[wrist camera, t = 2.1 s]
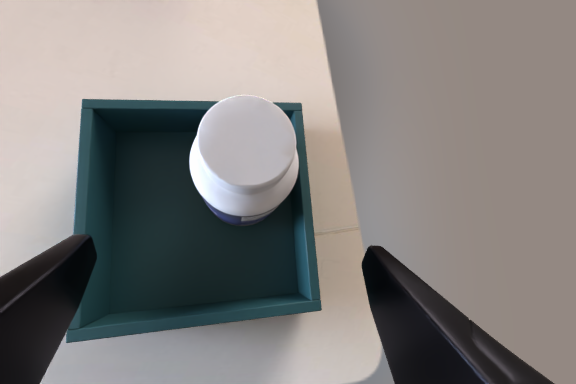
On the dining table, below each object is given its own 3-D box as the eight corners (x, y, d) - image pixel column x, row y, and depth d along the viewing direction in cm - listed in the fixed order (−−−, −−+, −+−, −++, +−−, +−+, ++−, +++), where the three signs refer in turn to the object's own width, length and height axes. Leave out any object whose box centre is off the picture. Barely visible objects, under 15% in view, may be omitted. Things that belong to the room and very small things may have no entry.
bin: (305, 299, 20) (321, 310, 16) (102, 323, 18) (65, 343, 14) (290, 127, 23) (301, 102, 19) (110, 127, 20) (81, 98, 17)
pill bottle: (191, 172, 20) (152, 104, 11) (258, 143, 22) (276, 60, 12) (224, 240, 20) (214, 230, 10) (291, 206, 21) (336, 170, 12)
